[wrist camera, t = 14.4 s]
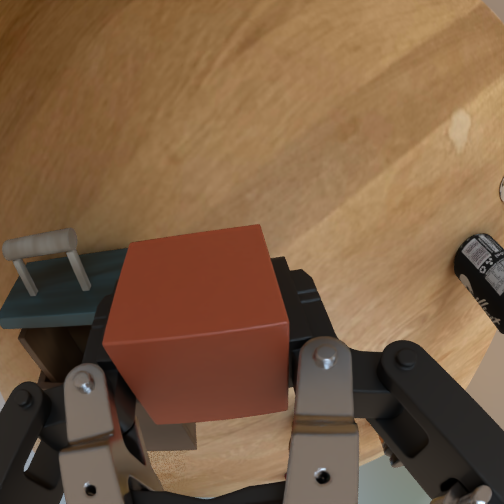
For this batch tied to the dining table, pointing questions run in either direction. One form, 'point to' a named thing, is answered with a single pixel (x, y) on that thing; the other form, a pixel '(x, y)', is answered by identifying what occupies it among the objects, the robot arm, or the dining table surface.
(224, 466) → the dining table surface
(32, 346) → the drawer
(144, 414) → the cabinet
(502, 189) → the wineglass
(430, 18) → the dining table surface
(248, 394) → the block
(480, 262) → the beverage can
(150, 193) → the dining table surface
